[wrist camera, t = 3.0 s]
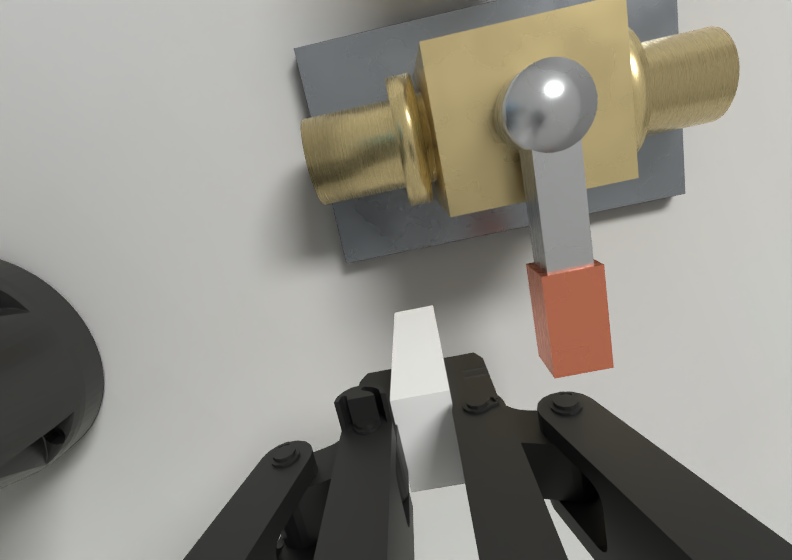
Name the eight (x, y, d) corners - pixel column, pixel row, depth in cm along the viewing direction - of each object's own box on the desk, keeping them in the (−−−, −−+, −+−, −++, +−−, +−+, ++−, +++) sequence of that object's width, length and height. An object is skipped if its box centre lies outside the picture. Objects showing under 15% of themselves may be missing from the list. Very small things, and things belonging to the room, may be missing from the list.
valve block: (348, 259, 28) (329, 298, 21) (297, 52, 25) (253, 7, 17) (674, 192, 27) (785, 207, 19) (664, -34, 24) (789, -124, 16)
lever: (487, 79, 18) (501, 67, 16) (568, 61, 18) (595, 45, 15) (527, 353, 21) (545, 380, 19) (596, 340, 21) (623, 365, 19)
